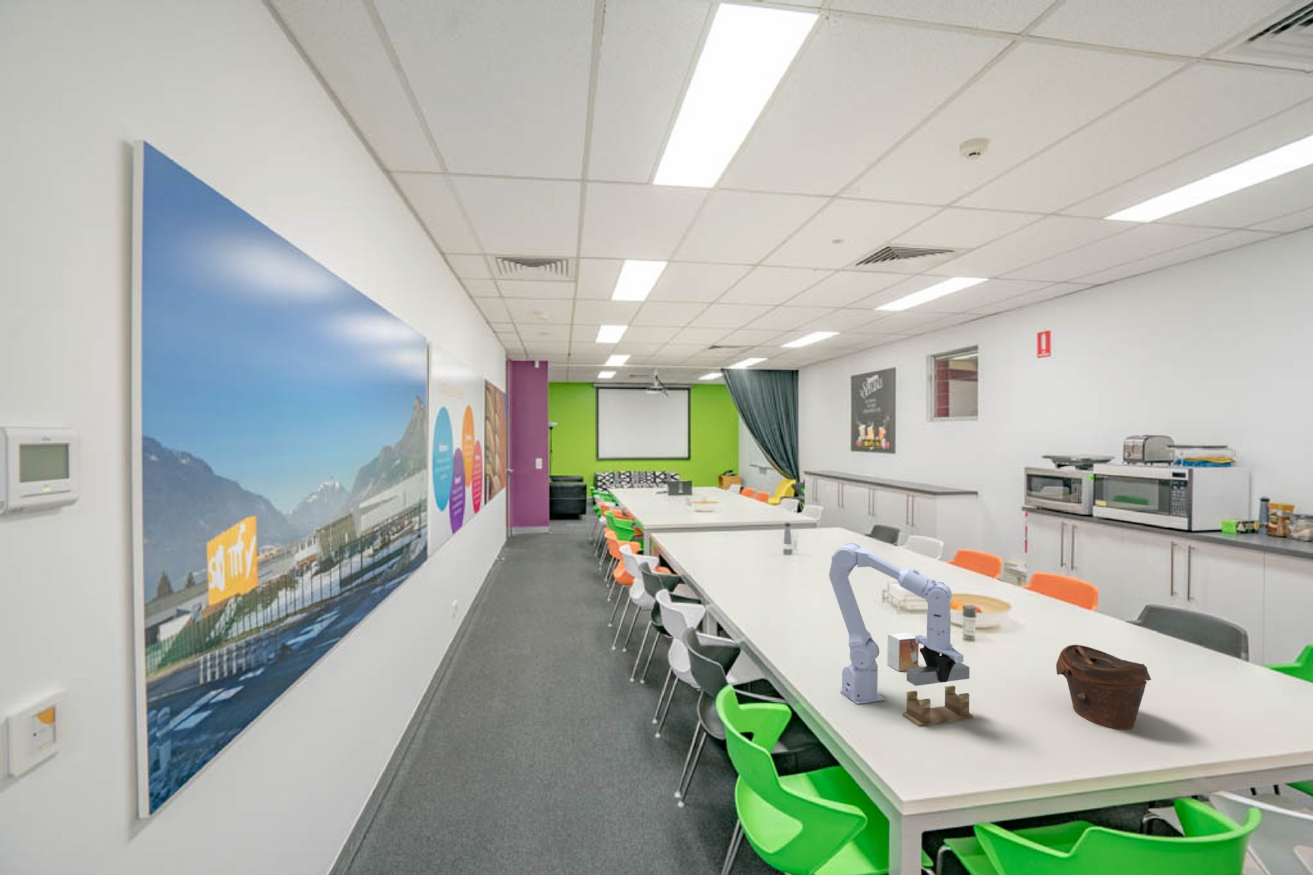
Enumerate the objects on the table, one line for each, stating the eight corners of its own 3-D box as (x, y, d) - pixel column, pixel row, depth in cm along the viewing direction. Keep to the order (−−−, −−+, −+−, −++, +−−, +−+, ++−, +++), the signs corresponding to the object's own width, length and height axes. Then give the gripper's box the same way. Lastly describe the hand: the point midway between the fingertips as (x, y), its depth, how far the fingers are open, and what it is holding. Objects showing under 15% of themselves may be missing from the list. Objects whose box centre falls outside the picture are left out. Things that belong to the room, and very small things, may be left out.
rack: (918, 726, 136) (919, 702, 137) (902, 715, 142) (902, 691, 142) (973, 718, 141) (973, 694, 141) (955, 707, 147) (955, 684, 147)
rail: (915, 685, 138) (915, 673, 138) (906, 680, 141) (906, 668, 141) (969, 678, 143) (969, 666, 143) (959, 673, 146) (959, 662, 146)
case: (1056, 692, 157) (1057, 633, 157) (1147, 715, 144) (1148, 651, 144) (1054, 716, 143) (1055, 652, 143) (1154, 744, 131) (1155, 673, 130)
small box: (898, 671, 170) (899, 639, 170) (886, 664, 175) (887, 633, 175) (918, 669, 172) (919, 637, 172) (906, 662, 177) (906, 631, 177)
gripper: (972, 636, 136) (972, 688, 136) (929, 618, 150) (929, 665, 150) (951, 639, 134) (950, 692, 134) (909, 620, 148) (909, 668, 148)
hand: (938, 678), depth 142 cm, fingers closed on rail, 3 cm apart
